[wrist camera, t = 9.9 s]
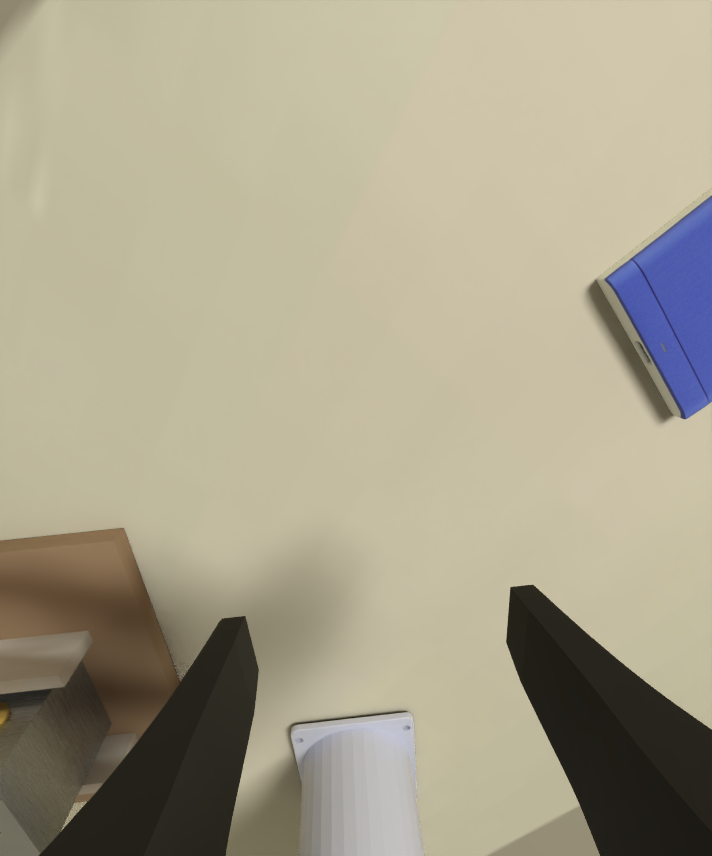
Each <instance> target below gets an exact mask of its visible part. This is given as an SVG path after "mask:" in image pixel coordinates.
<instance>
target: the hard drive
mask: <svg viewBox="0 0 712 856" xmlns="http://www.w3.org/2000/svg"><path fill="white" fill-rule="evenodd" d="M596 281H597V282H598V284H599V286H600V288H601V289H602V291H603V293H604V295H605V296H606V298H607V300H608V302H609V303H610V305H611V307H612V309H613V310H614V312H615V314H616V316H617V317H618V319H619V321H620V323H621V325H622V326H623V328H624V330H625V332H626V333H627V335H628V337H629V339H630V340H631V342H632V344H633V346H634V348H635V349H636V351H637V353H638V355H639V356H640V358H641V360H642V362H643V363H644V365H645V367H646V369H647V370H648V372H649V374H650V376H651V378H652V379H653V381H654V383H655V385H656V387H657V388H658V390H659V392H660V394H661V395H662V397H663V399H664V401H665V403H666V404H667V406H668V408H669V410H670V412H671V413H672V414H673V415H675V416H677V417H680V418H682V419H687V418H689V417H690V416H692V415H693V414H695V413H696V412H698V411H699V410H701V409H702V408H704V407H705V406H707V405H708V404H709V403H710V402H712V188H711V189H710V190H708V191H707V192H706V193H704V194H703V195H702V196H701V197H699V198H698V199H697V200H696V201H694V202H693V203H692V204H691V205H689V206H688V207H687V208H685V209H684V210H683V211H682V212H680V213H679V214H678V215H677V216H675V217H674V218H673V219H672V220H670V221H669V222H668V223H666V224H665V225H664V226H663V227H661V228H660V229H659V230H658V231H656V232H655V233H654V234H653V235H651V236H650V237H649V238H647V239H646V240H645V241H644V242H642V243H641V244H640V245H639V246H637V247H636V248H635V249H633V250H632V251H631V252H630V253H628V254H627V255H626V256H625V257H623V258H622V259H621V260H620V261H618V262H617V263H616V264H614V265H613V266H612V267H610V268H609V269H608V270H607V271H605V272H604V273H603V274H602V275H600V276H599V277H598V278H597V279H596Z"/></svg>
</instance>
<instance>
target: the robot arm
mask: <svg viewBox="0 0 712 856" xmlns="http://www.w3.org/2000/svg"><path fill="white" fill-rule="evenodd" d="M506 642H507V645H508V648H509V651H510V654H511V656H512V659H513V662H514V665H515V668H516V670H517V673H518V675H519V678H520V681H521V683H522V685H523V687H524V690H525V692H526V694H527V696H528V698H529V700H530V702H531V704H532V706H533V708H534V710H535V712H536V714H537V716H538V718H539V721H540V723H541V725H542V727H543V729H544V731H545V733H546V735H547V737H548V739H549V741H550V743H551V745H552V747H553V749H554V751H555V753H556V755H557V757H558V759H559V761H560V763H561V765H562V767H563V769H564V771H565V773H566V775H567V778H568V780H569V782H570V784H571V786H572V788H573V791H574V793H575V795H576V797H577V799H578V802H579V804H580V806H581V809H582V811H583V814H584V816H585V819H586V821H587V824H588V826H589V829H590V831H591V834H592V836H593V839H594V841H595V843H596V846H597V849H598V851H599V854H600V856H712V730H711V729H710V728H708V727H707V726H705V725H704V724H703V723H701V722H700V721H698V720H697V719H696V718H694V717H693V716H691V715H690V714H688V713H687V712H686V711H684V710H683V709H681V708H680V707H679V706H677V705H676V704H674V703H673V702H671V701H670V700H669V699H667V698H666V697H665V696H663V695H662V694H661V693H659V692H658V691H657V690H655V689H654V688H653V687H651V686H650V685H649V684H648V683H646V682H645V681H644V680H643V679H641V678H640V677H639V676H637V675H636V674H635V673H634V672H632V671H631V670H630V669H629V668H627V667H626V666H625V665H624V664H623V663H621V662H620V661H619V660H618V659H616V658H615V657H614V656H613V655H612V654H610V653H609V652H608V651H607V650H606V649H605V648H603V647H602V646H601V645H600V644H599V643H598V642H596V641H595V640H594V639H593V638H592V637H590V636H589V635H588V634H587V633H586V632H585V631H584V630H582V629H581V628H580V627H579V626H578V625H577V624H576V623H575V622H574V621H572V620H571V619H570V618H569V617H568V616H567V615H566V614H565V613H563V612H562V611H561V610H560V609H559V608H558V607H557V606H556V605H555V604H554V603H553V602H551V601H550V600H549V599H548V598H547V597H546V596H545V595H544V594H543V593H542V592H540V591H539V590H538V589H537V588H536V587H535V586H534V585H526V586H517V587H511V588H510V601H509V614H508V627H507V640H506ZM258 671H259V669H258V665H257V661H256V657H255V653H254V649H253V645H252V641H251V637H250V633H249V629H248V625H247V621H246V618H245V616H242V617H233V618H224V619H222V620H221V621H220V622H219V623H218V625H217V627H216V628H215V630H214V631H213V633H212V635H211V636H210V638H209V639H208V641H207V642H206V644H205V646H204V647H203V649H202V650H201V652H200V653H199V655H198V657H197V658H196V660H195V661H194V663H193V664H192V666H191V667H190V669H189V670H188V672H187V673H186V675H185V676H184V678H183V679H182V680H181V682H180V683H179V685H178V686H177V688H176V689H175V691H174V692H173V694H172V695H171V696H170V698H169V699H168V701H167V702H166V704H165V705H164V706H163V708H162V709H161V710H160V712H159V713H158V714H157V716H156V717H155V718H154V720H153V721H152V723H151V724H150V725H149V727H148V728H147V729H146V731H145V732H144V733H143V735H142V736H141V737H140V739H139V740H138V741H137V743H136V744H135V745H134V746H133V748H132V749H131V750H130V751H129V753H128V754H127V755H126V757H125V758H124V759H123V760H122V761H121V763H120V764H119V765H118V766H117V768H116V769H115V770H114V771H113V772H112V774H111V775H110V776H109V777H108V778H107V780H106V781H105V782H104V783H103V784H102V786H101V787H100V788H99V789H98V790H97V792H96V793H95V794H94V795H93V796H92V797H91V798H90V800H89V801H88V802H87V803H86V804H85V805H84V806H83V807H82V809H81V810H80V811H79V812H78V813H77V814H76V815H75V816H74V818H73V819H72V820H71V821H70V822H69V823H68V824H67V825H66V826H65V828H64V829H63V830H62V831H61V832H60V833H59V834H58V835H57V836H56V837H55V839H54V840H53V841H52V842H51V843H50V844H49V845H48V846H47V847H46V848H45V849H44V850H43V851H42V852H41V853H40V855H39V856H226V848H227V842H228V837H229V831H230V826H231V820H232V816H233V811H234V806H235V801H236V797H237V792H238V787H239V783H240V778H241V773H242V768H243V764H244V759H245V754H246V750H247V745H248V740H249V735H250V730H251V726H252V721H253V716H254V709H255V700H256V691H257V681H258ZM291 740H292V744H293V749H294V753H295V757H296V762H297V766H298V771H299V775H300V779H301V784H302V799H301V817H300V835H299V853H298V856H425V850H424V844H423V838H422V831H421V825H420V819H419V812H418V806H417V800H416V799H417V783H416V762H415V741H414V721H413V716H412V714H410V713H408V712H403V713H394V714H385V715H377V716H368V717H359V718H351V719H342V720H333V721H325V722H316V723H307V724H299V725H295V726H293V727H292V728H291Z"/></svg>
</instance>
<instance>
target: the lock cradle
mask: <svg viewBox="0 0 712 856" xmlns="http://www.w3.org/2000/svg"><path fill="white" fill-rule="evenodd" d="M81 660H82V662H83V664H84V666H85V668H86V670H87V672H88V674H89V676H90V678H91V680H92V682H93V685H94V687H95V689H96V691H97V693H98V695H99V697H100V699H101V701H102V703H103V705H104V707H105V709H106V711H107V714H108V716H109V718H110V720H111V722H112V725H111V727H110V729H109V731H108V733H107V735H106V737H105V739H104V742H103V744H102V746H101V748H100V750H99V752H98V754H97V756H96V758H95V760H94V762H93V765H92V767H91V769H90V771H89V773H88V775H87V777H86V779H85V781H84V783H83V785H82V787H81V790H80V792H79V794H78V796H77V798H76V800H75V802H74V803H76V802H84V801H89V800H90V798H91V797H92V796H93V795H94V794H95V793H96V792H97V790H98V789H99V788H100V787H101V786H102V784H103V783H104V782H105V781H106V780H107V778H108V777H109V776H110V775H111V774H112V772H113V771H114V770H115V769H116V768H117V766H118V765H119V764H120V763H121V761H122V760H123V759H124V758H125V757H126V755H127V754H128V753H129V751H130V750H131V749H132V748H133V746H134V745H135V744H136V743H137V741H138V740H139V739H140V737H141V736H142V735H143V733H144V732H145V731H146V729H147V728H148V727H149V725H150V724H151V723H152V721H153V720H154V718H155V717H156V716H157V714H158V713H159V712H160V710H161V709H162V708H163V706H164V705H165V704H166V702H167V701H168V699H169V698H170V696H171V695H172V694H173V692H174V691H175V689H176V688H177V686H178V685H179V683H180V681H179V679H178V676H177V673H176V670H175V668H174V665H173V662H172V659H171V657H170V654H169V651H168V648H167V646H166V643H165V640H164V637H163V635H162V632H161V629H160V626H159V624H158V621H157V618H156V615H155V613H154V610H153V607H152V604H151V602H150V599H149V596H148V593H147V591H146V588H145V585H144V582H143V580H142V577H141V574H140V571H139V569H138V566H137V563H136V560H135V558H134V555H133V552H132V549H131V547H130V544H129V541H128V538H127V536H126V533H125V530H124V528H120V529H110V530H100V531H91V532H81V533H72V534H62V535H52V536H43V537H33V538H24V539H14V540H4V541H0V694H6V693H15V692H24V691H33V690H42V689H51V688H59V687H65V685H66V684H67V682H68V681H69V679H70V678H71V676H72V674H73V673H74V671H75V670H76V668H77V666H78V665H79V663H80V662H81Z"/></svg>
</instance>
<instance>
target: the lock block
mask: <svg viewBox="0 0 712 856" xmlns="http://www.w3.org/2000/svg"><path fill="white" fill-rule="evenodd" d="M111 725H112V722H111V720H110V718H109V716H108V714H107V711H106V709H105V707H104V705H103V703H102V701H101V699H100V697H99V695H98V693H97V691H96V689H95V687H94V685H93V682H92V680H91V678H90V676H89V674H88V672H87V670H86V668H85V666H84V664H83V662H82V660H81V662H80V663H79V665H78V666H77V668H76V670H75V671H74V673H73V674H72V676H71V678H70V679H69V681H68V682H67V684H66V685H65V687H59V688H51V689H42V690H33V691H24V692H15V693H6V694H0V856H39V855H40V853H41V852H42V851H43V850H44V849H45V848H46V847H47V846H48V845H49V844H50V843H51V842H52V841H53V840H54V839H55V837H56V836H57V835H58V834H59V833H60V831H61V829H62V827H63V825H64V823H65V821H66V819H67V817H68V815H69V813H70V810H71V808H72V806H73V804H74V802H75V800H76V798H77V796H78V794H79V792H80V790H81V787H82V785H83V783H84V781H85V779H86V777H87V775H88V773H89V771H90V769H91V767H92V765H93V762H94V760H95V758H96V756H97V754H98V752H99V750H100V748H101V746H102V744H103V742H104V739H105V737H106V735H107V733H108V731H109V729H110V727H111Z"/></svg>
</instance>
